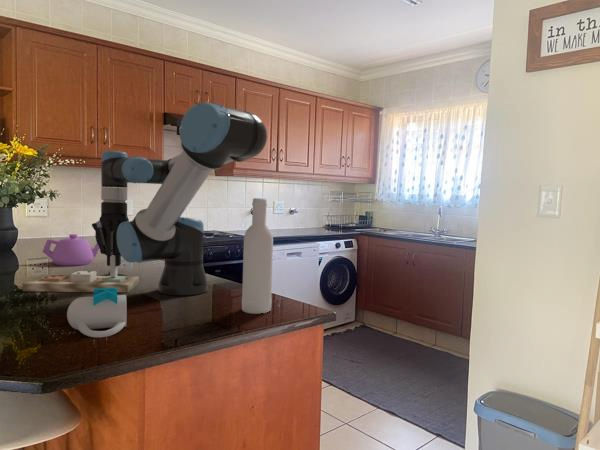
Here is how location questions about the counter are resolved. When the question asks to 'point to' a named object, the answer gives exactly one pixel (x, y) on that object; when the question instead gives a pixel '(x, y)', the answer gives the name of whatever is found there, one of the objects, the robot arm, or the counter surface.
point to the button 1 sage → (114, 279)
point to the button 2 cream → (83, 276)
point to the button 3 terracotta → (53, 278)
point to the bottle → (257, 262)
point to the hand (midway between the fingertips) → (113, 276)
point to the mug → (99, 313)
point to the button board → (79, 285)
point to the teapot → (71, 251)
